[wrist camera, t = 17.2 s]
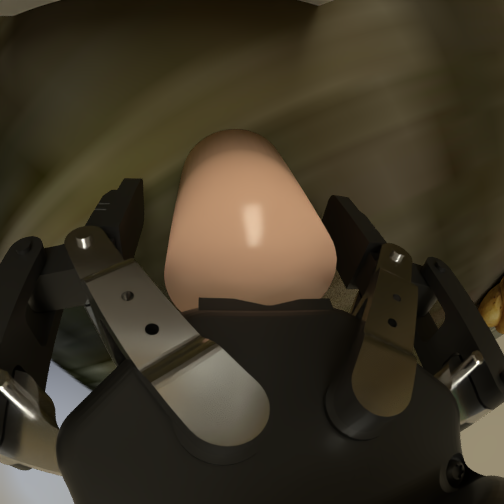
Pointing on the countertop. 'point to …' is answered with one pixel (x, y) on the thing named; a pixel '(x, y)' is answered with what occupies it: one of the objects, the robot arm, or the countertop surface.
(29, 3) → the tote
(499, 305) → the bread roll
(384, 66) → the countertop surface
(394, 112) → the countertop surface
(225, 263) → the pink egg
